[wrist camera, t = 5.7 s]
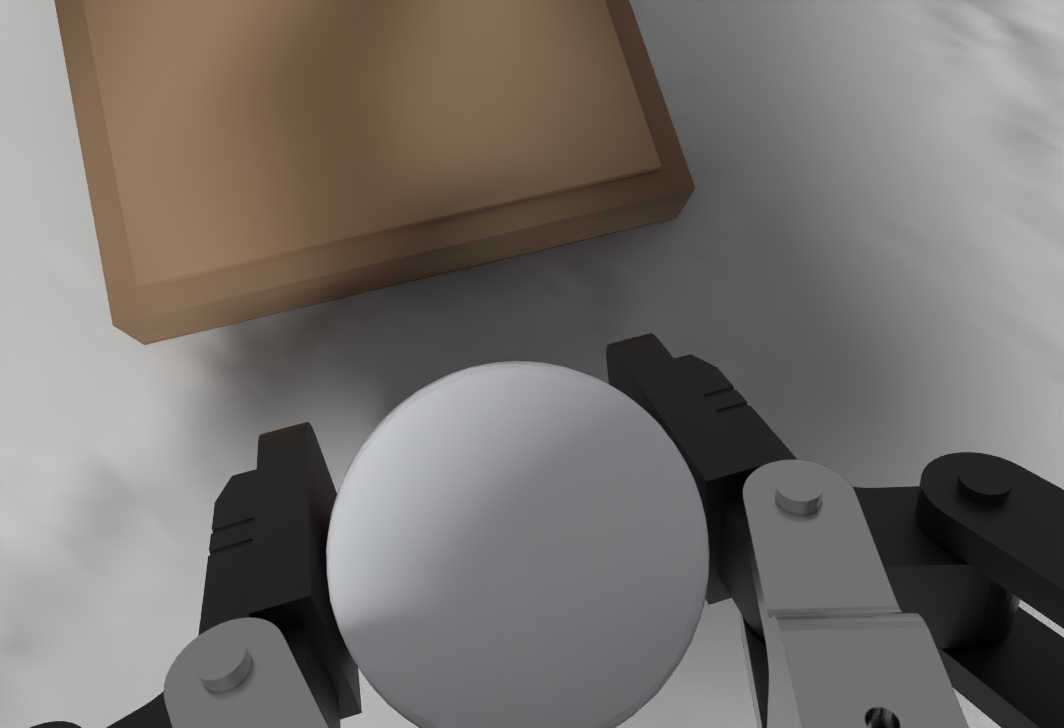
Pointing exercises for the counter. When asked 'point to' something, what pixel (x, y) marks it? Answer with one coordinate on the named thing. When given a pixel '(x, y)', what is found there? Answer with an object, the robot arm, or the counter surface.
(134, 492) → the counter surface
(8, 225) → the counter surface
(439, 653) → the pill bottle
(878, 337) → the counter surface
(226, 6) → the walnut tray
